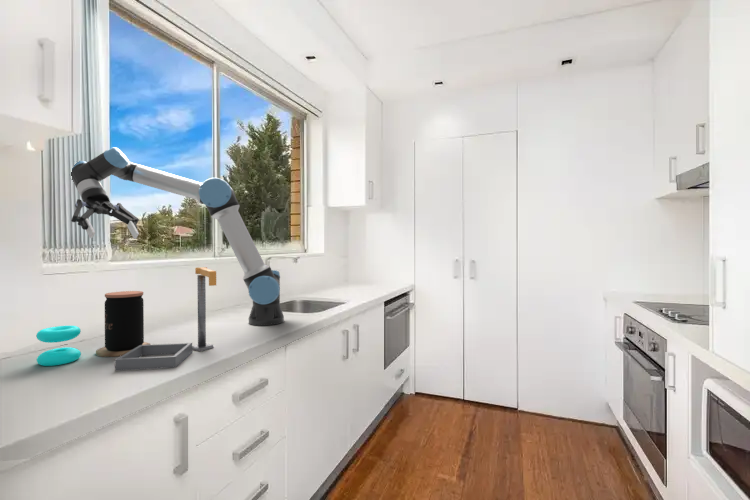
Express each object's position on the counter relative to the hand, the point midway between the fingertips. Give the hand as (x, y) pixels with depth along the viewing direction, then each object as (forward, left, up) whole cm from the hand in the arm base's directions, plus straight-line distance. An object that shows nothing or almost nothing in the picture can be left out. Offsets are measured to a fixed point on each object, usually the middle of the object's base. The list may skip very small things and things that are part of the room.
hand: (115, 235), depth 128 cm
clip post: (-30, +9, -38) cm, 49 cm away
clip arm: (-33, +17, -15) cm, 41 cm away
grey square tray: (-20, +20, -38) cm, 47 cm away
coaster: (-5, +6, -38) cm, 39 cm away
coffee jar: (-5, +6, -37) cm, 38 cm away
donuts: (+8, +16, -38) cm, 42 cm away
